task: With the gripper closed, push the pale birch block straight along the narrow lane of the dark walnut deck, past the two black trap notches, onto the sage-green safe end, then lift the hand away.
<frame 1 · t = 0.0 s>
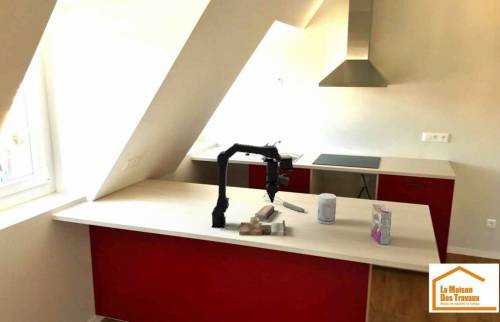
hand: (272, 199, 194), 15 cm above the worktop, tool pointing down, fingers open, 9 cm apart
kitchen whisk: (283, 207, 228), on the worktop
packaged product: (265, 217, 212), on the worktop
supplement tub: (326, 221, 203), on the worktop
candy bar box: (379, 240, 180), on the worktop
birch block: (254, 226, 191), point 2 cm above the worktop, touching trap deck
trap deck: (261, 230, 191), on the worktop
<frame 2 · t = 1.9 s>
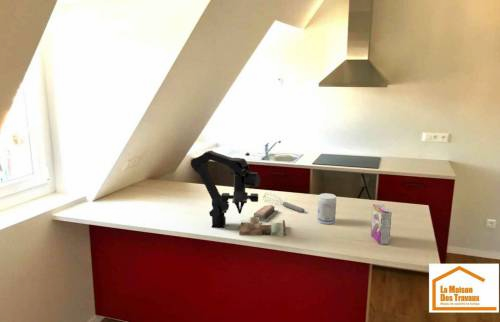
hand: (239, 213, 190), 9 cm above the worktop, tool pointing down, fingers closed
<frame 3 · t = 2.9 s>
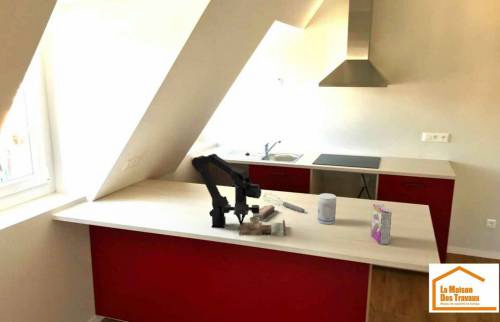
hand: (241, 224, 191), 3 cm above the worktop, tool pointing down, fingers closed
nothing on the worktop moved.
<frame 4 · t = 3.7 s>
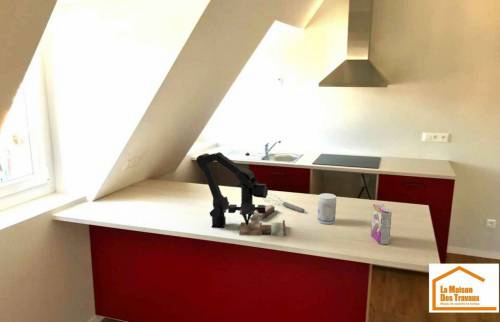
hand: (247, 224, 191), 3 cm above the worktop, tool pointing down, fingers closed
birch block: (255, 226, 191), point 2 cm above the worktop, touching gripper
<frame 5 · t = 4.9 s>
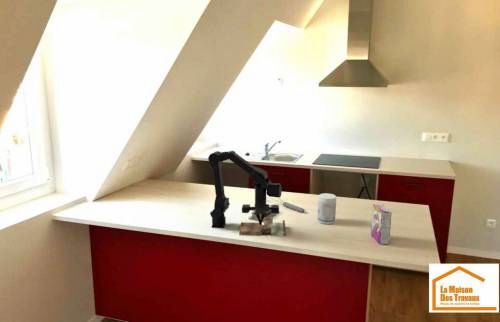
hand: (260, 224, 190), 3 cm above the worktop, tool pointing down, fingers closed
birch block: (268, 227, 191), point 2 cm above the worktop, touching gripper, trap deck
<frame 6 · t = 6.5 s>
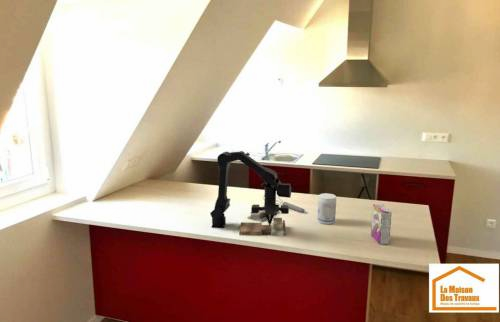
hand: (269, 225, 190), 3 cm above the worktop, tool pointing down, fingers closed
birch block: (277, 227, 190), point 2 cm above the worktop, touching gripper, trap deck
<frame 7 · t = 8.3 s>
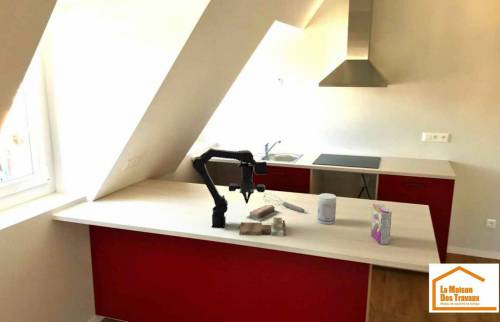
hand: (246, 203, 197), 12 cm above the worktop, tool pointing down, fingers closed
birch block: (277, 227, 190), point 2 cm above the worktop, touching trap deck
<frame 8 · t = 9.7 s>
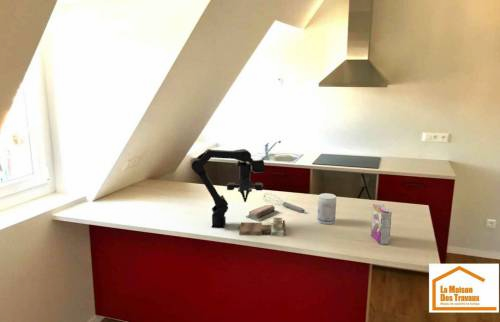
hand: (245, 201, 199), 12 cm above the worktop, tool pointing down, fingers closed
at the end: birch block 0.2 cm from the target spot, point 2.0 cm above the worktop; birch block tilted 0° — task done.
